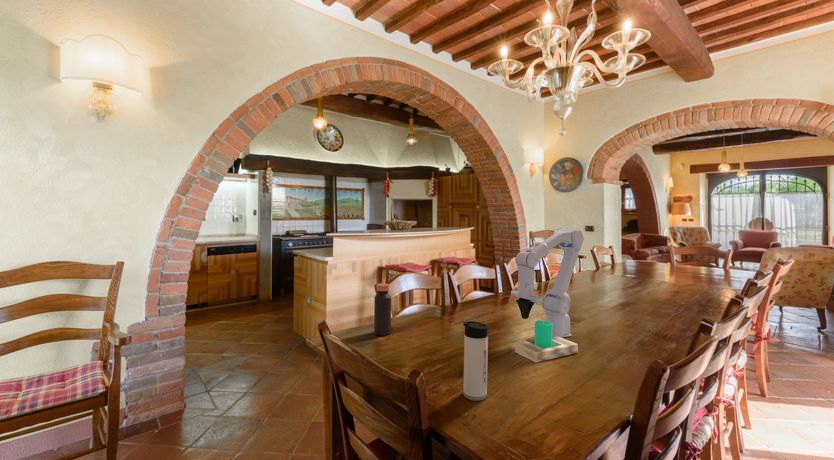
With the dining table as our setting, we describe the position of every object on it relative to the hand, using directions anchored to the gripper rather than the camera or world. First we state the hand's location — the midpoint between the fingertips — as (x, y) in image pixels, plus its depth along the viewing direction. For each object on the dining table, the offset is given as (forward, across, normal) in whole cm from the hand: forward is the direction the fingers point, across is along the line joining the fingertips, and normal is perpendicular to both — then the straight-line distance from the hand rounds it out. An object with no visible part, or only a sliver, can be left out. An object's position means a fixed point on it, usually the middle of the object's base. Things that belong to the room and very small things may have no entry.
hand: (525, 318), depth 137 cm
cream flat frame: (+9, +11, 0) cm, 14 cm away
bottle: (+9, -32, -46) cm, 57 cm away
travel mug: (+9, +25, -41) cm, 49 cm away
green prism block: (+10, +10, -1) cm, 14 cm away
